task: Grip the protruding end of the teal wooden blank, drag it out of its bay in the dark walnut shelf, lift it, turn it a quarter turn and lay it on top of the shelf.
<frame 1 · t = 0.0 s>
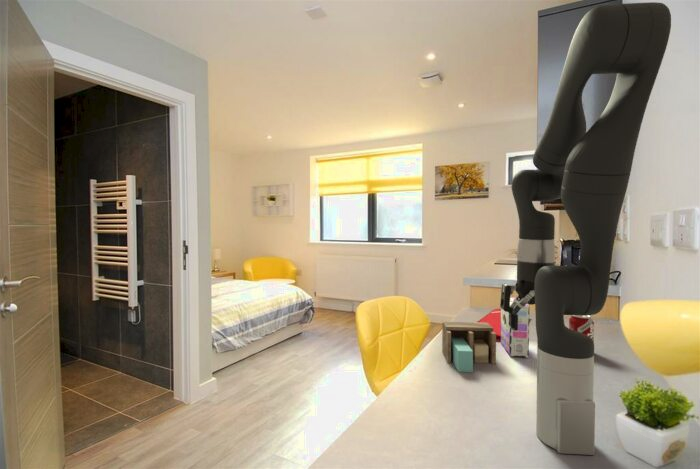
hand: (533, 330, 81), 17 cm above the countertop, tool pointing down, fingers open, 8 cm apart
oak offcut: (478, 358, 110), resting in shelf
soda can: (580, 352, 115), on the countertop
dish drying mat: (499, 327, 145), on the countertop
candy box: (513, 350, 117), on the countertop
shelf: (467, 357, 110), on the countertop
blank: (460, 364, 106), on the countertop
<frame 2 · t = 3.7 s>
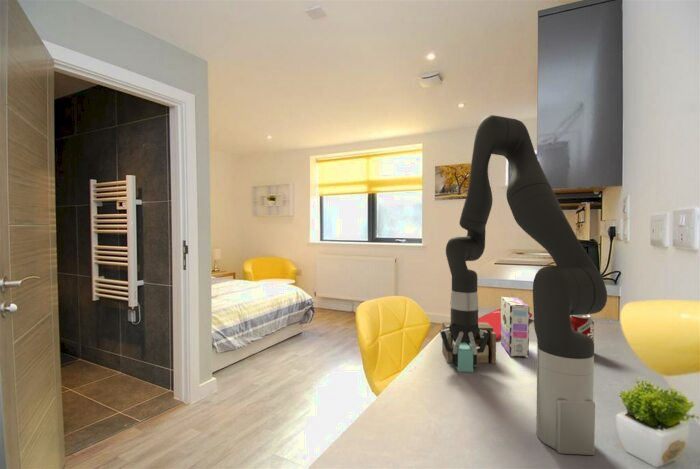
hand: (463, 365, 102), 1 cm above the countertop, tool pointing down, fingers closed on blank, 4 cm apart
blank: (459, 363, 106), on the countertop, touching gripper
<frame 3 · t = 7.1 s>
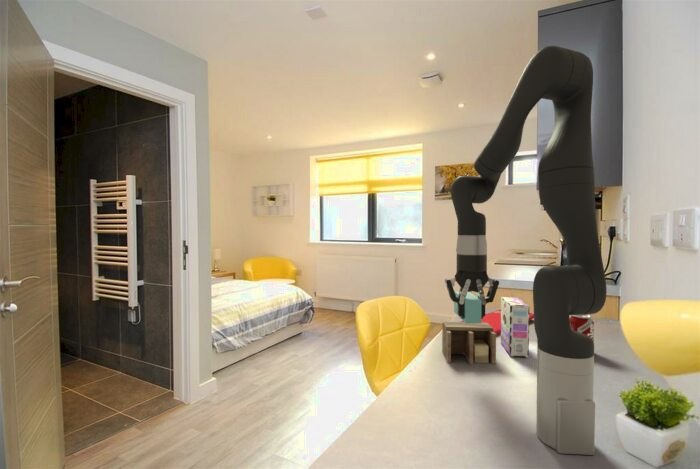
hand: (471, 317, 93), 17 cm above the countertop, tool pointing down, fingers closed on blank, 4 cm apart
blank: (466, 317, 97), point 16 cm above the countertop, touching gripper
when the fingers open (12 cm above the countertop, at t = 10.6 s): blank drops 1 cm, resting on shelf.
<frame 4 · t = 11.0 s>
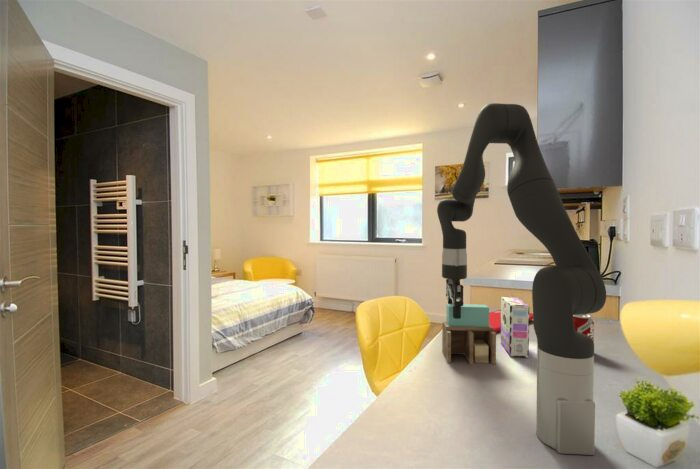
hand: (454, 314, 111), 13 cm above the countertop, tool pointing down, fingers open, 7 cm apart
blank: (467, 324, 111), point 10 cm above the countertop, touching shelf
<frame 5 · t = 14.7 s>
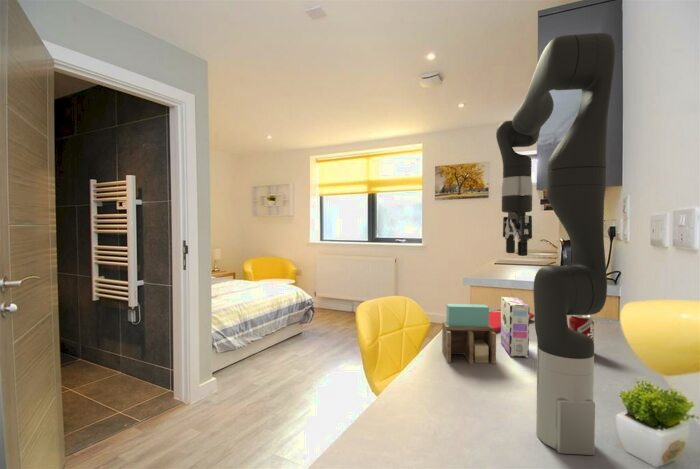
hand: (516, 254, 97), 33 cm above the countertop, tool pointing down, fingers open, 8 cm apart
at the end: blank inside the target area (0.2 cm from its centre), point 10.0 cm above the countertop; blank tilted 0°; the gripper is holding nothing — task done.
